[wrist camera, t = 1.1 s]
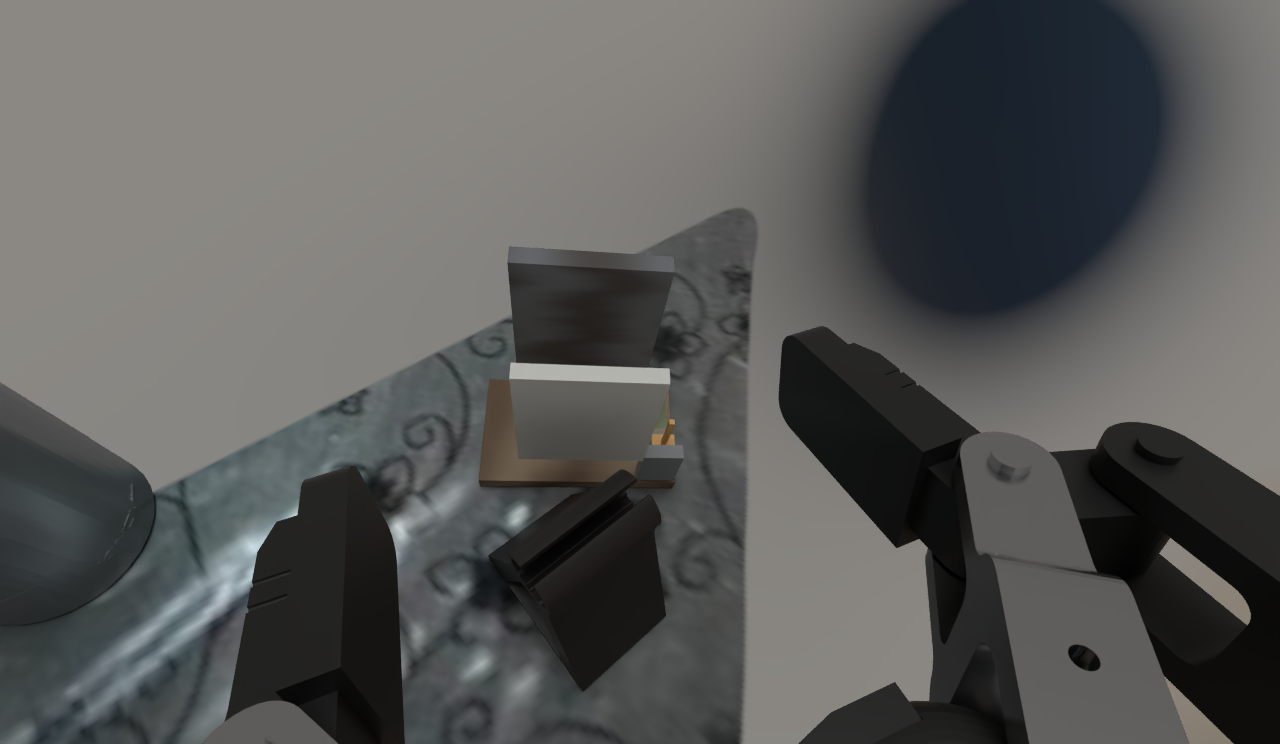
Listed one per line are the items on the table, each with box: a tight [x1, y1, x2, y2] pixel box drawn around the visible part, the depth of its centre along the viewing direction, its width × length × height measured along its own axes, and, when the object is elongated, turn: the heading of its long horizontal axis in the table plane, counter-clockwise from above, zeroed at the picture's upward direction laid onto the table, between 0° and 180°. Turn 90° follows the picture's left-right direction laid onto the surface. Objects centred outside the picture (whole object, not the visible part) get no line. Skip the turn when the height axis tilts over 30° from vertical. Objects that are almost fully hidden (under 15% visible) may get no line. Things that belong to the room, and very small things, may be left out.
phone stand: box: [488, 469, 666, 691], centre depth 29 cm, size 9×6×12 cm, turn 40°
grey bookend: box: [479, 247, 675, 488], centre depth 33 cm, size 12×7×14 cm, turn 93°
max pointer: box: [649, 419, 675, 445], centre depth 36 cm, size 1×1×5 cm
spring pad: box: [509, 363, 684, 480], centre depth 31 cm, size 9×1×12 cm, turn 92°
